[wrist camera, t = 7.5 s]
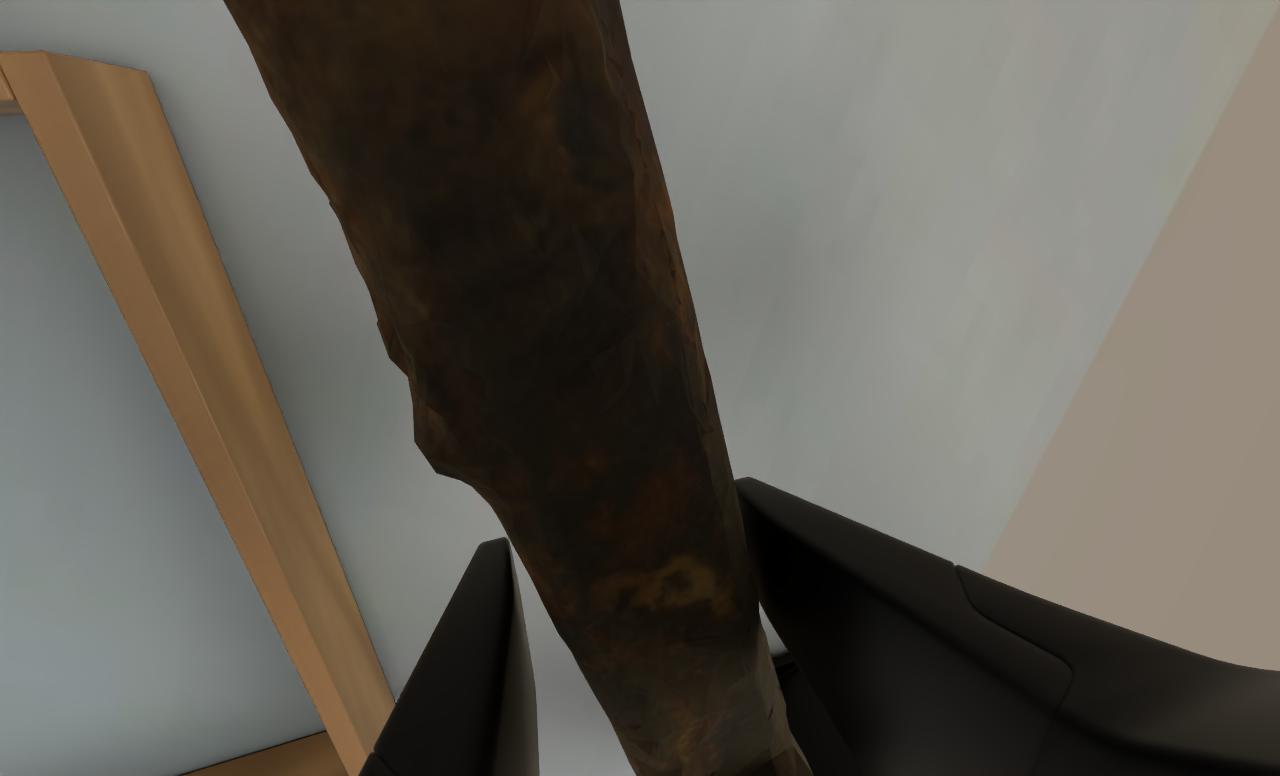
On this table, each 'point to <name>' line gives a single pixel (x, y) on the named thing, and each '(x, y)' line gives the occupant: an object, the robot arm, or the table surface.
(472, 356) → the dark brown long piece
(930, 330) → the table surface
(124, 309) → the wooden rectangular frame
